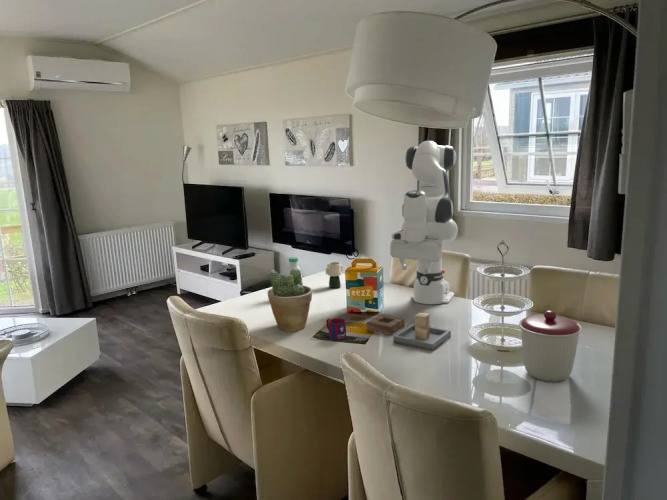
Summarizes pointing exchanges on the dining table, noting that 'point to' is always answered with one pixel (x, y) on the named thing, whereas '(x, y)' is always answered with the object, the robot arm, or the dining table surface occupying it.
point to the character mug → (334, 273)
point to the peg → (422, 326)
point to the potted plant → (289, 300)
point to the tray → (429, 344)
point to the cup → (336, 328)
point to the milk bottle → (293, 265)
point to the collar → (386, 324)
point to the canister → (549, 345)
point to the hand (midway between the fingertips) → (416, 270)
